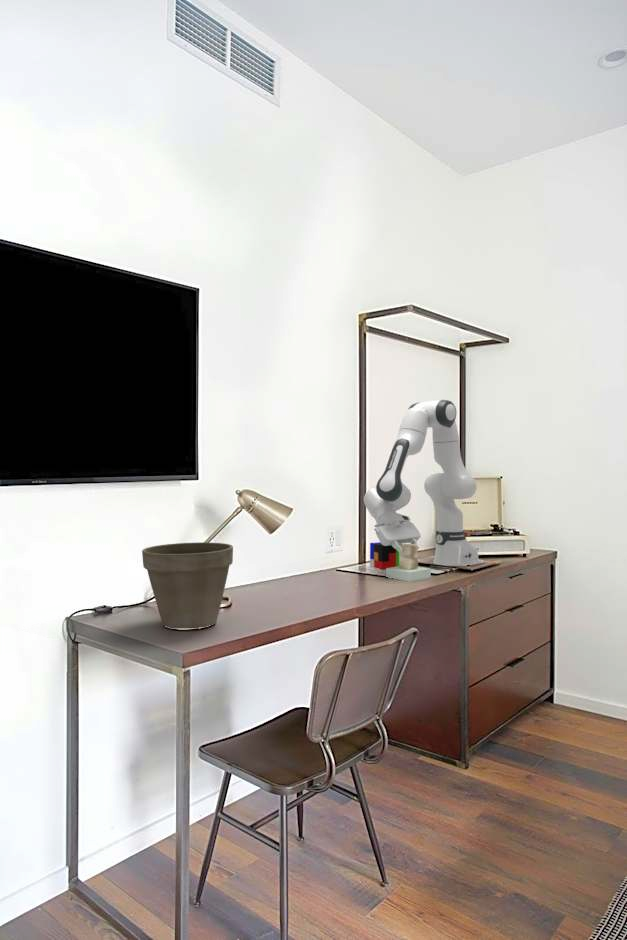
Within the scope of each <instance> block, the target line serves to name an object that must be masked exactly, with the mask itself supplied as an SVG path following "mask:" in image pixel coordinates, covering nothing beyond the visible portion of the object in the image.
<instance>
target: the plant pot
mask: <svg viewBox="0 0 627 940" xmlns="http://www.w3.org/2000/svg"><path fill="white" fill-rule="evenodd" d="M141 554H142V555H141V556H142V564H143V565H142V566H143V568H144V569H145V570H146V571H147V574H148V575H147V576H148V579H149V582H150V586H151V589H152V593H153V596H154V600H155V603H156V607H157V610H158V615H159V618H160V620H161V621H160V622H161V623H162V626H163V625H164V626H167V627H170V628H199V627H206V626H209V625H212V624H215V625H216V623H217V622H218V618H219V614H220V610H221V605H222V601H223V597H224V596H223V595H224V593H225V588H226V584H227V579H228V574H229V569H230V566H231V565H232V564H233V562H234V561H233V560H234V547H233V545H232V544H229V543H224V542H207V541H206V542H179V543H167V544H159V545H154V546H149V547H145V548H143V549H142V550H141ZM164 626H163V627H164Z"/></svg>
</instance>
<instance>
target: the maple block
mask: <svg viewBox="0 0 627 940" xmlns="http://www.w3.org/2000/svg"><path fill="white" fill-rule="evenodd" d="M400 546H401V547H403V549H404V551H403V553H399V568H400V569H407V570H411V569H418V567H419V560H418V559H419V555H418V554H419V549H418V547H419V546H418V544H417V545H414V544H411V543H403V544H402V545H400Z"/></svg>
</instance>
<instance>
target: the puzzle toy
mask: <svg viewBox="0 0 627 940" xmlns="http://www.w3.org/2000/svg"><path fill="white" fill-rule="evenodd" d="M398 545H402V544H398ZM369 556H370V557H369V564H370V565H369V567H371V568H374V567H375V569H377V568H379V569H378V570H381V569H386V568H391V567H397V566H399V552H398V550H396V549H395V548H394V547H392V545H388V546H384V545H382V544H381V542H380V541H379V542H370V544H369Z"/></svg>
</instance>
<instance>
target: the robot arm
mask: <svg viewBox="0 0 627 940" xmlns="http://www.w3.org/2000/svg"><path fill="white" fill-rule="evenodd" d="M456 419H457V408H456V405H455V404H454V403H453V402H452V401H451V400H448V399H447V400H446V399H441V400H440V399H438V400H436V399H433V400H427V401H422V402H416V403H412V405H410V406H409V407H408V409H407V410H406V412H405V414H404V416H403V418H402V420H401V423H400V425H399V429H398V434H397V437H396V440H395V442H394V444H393V447H392V449H391V453H390V455H389V458H388V461H387V463H386V467H385V469H384V472H383V473H382V475H381V476H380V478H378V481H377V483H376V486H375V487H372V488H370V489H368V490H367V491H366V492H365V495H364V496H363V503H364V506H365V508H366V509H367V511H368V513H369V514H370V515H371V517H372V518H374V520H375V522H376V524H375V525H374V526H373V530H374V531H375V535H376V537H377V539H378V540H379V542H381V544H382V545H384V546H388V545H392V547H394V548H395V549H396V550H398V552H399V553H403V551H404V549H403V547H401V546H400V545H398V544H414V545H418V543H417V542H418V541H419V540H420V538H421V533H420V531H419V529H418V528H417V527H416V525H415V524H414V523H413V522H411V518H410V517H409V516H407V515H403V514H400V513H397V511H399V510H401V509H403V508H404V507H407V505H408V504H409V503H410V501H411V498H412V497H411V496H412V494H411V491H410V489H409V488H408V486H407V485H405V483H403V481H402V473H403V469H404V466H405V464H406V461H407V458H408V457H409V456H414V455H417V454H418V453H420V452H421V451H422V449H423V446H424V444H425V440H426V437H427V431H428V428H431V429H432V447H433V448H432V449H433V460H434V461H435V463H436V464H437V465H439V466H440V467H441V469H442V472H436V473H433V474H429V475H428V476H427V477H426V478H425V480H424V483H423V484H424V485H423V488H424V491H425V493H426V494H427V495H428V496H429V497H430V499H431V501H432V503H433V506H434V509H435V514H436V530H435V540H436V543H435V551H434V556H433V557H434V558H433V562H432V564H434V565H438V566H443V567H444V566H445V567H468V566H467V565H470V566H475V565H479V564H484V562H485V561H484V560H483V559H480V558H479V553H478V549H477V548H476V547H475V546H474V545H473V544H472V543H471V542H469V540H467V537H470V536H471V532H470V531H464V515H463V511H462V510H461V509H460V508H458V506H457V504H456V501H455V500H464V499H465V500H466V499H470V498H472V497H474V495H475V494H476V491H477V482H476V480H475V479H476V478H474V477H473V476H472V475H471V474H470V473H469V471H468V470H467V469H466V467H465V466H464V465H465V464H464V462H463V459H462V455H461V454H462V453H461V448H460V440H459V439H460V436H459V431H458V426H457V422H456ZM419 548H420V547H419V546H418V550H419Z"/></svg>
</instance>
